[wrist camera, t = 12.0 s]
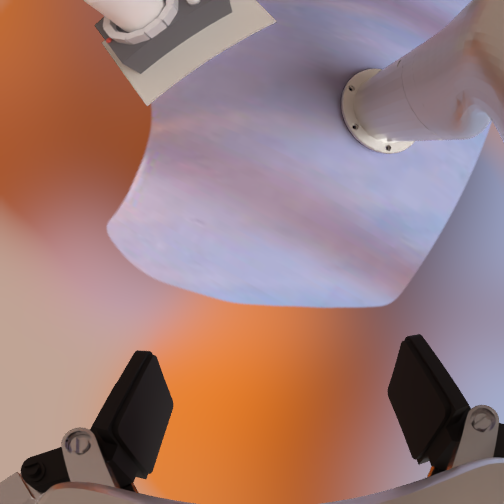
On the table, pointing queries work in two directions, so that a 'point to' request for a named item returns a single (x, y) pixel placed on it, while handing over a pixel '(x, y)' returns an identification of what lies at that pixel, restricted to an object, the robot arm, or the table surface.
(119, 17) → the can
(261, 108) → the table surface
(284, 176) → the table surface
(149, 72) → the mat
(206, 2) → the camera body
